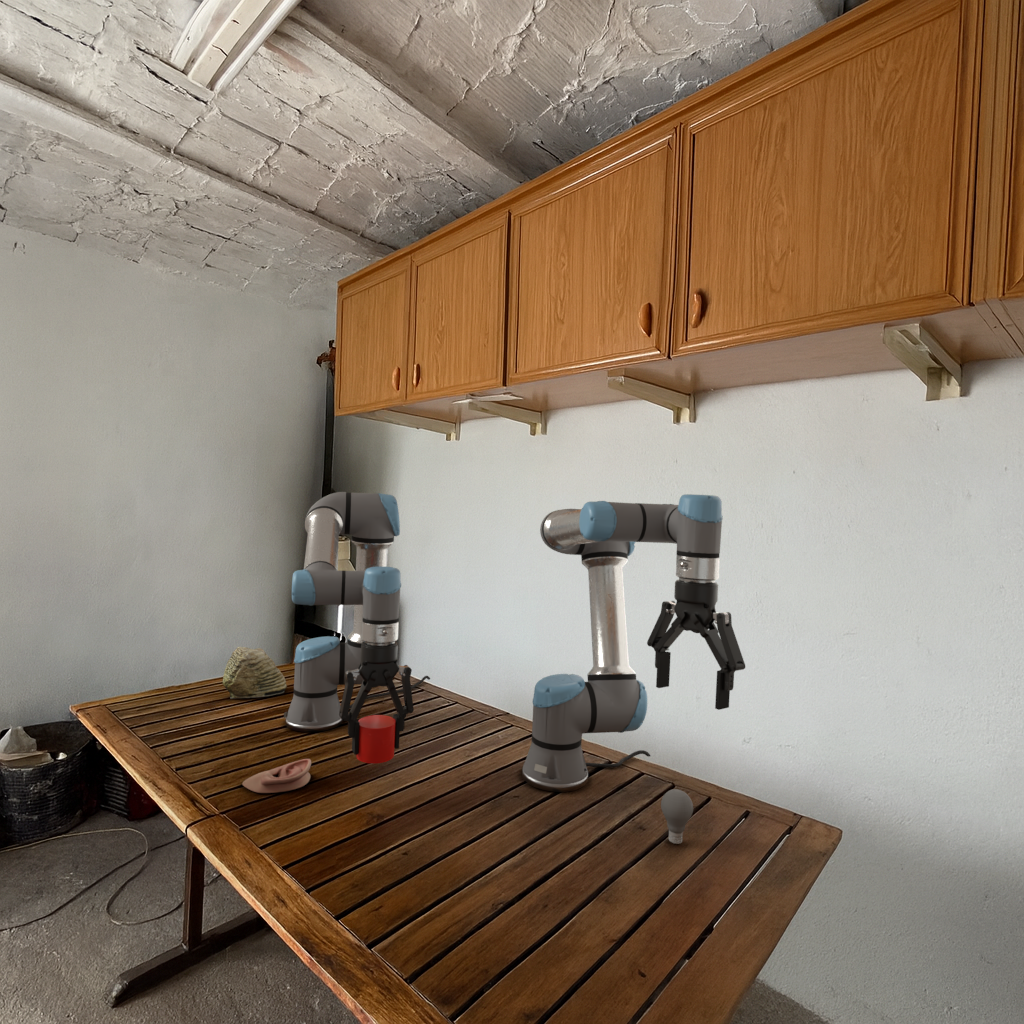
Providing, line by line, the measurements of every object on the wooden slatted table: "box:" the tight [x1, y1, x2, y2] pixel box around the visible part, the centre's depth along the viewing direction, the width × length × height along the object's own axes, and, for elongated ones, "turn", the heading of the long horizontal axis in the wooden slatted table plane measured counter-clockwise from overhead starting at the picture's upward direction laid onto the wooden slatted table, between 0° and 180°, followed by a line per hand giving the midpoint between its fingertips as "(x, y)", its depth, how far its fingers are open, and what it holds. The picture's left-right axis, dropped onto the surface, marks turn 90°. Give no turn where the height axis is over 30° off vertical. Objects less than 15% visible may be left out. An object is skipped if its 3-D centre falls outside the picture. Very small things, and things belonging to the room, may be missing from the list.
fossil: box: [222, 646, 288, 699], centre depth 198 cm, size 9×18×15 cm, turn 132°
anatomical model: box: [241, 758, 312, 794], centre depth 139 cm, size 13×4×12 cm
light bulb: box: [660, 788, 694, 845], centre depth 121 cm, size 6×6×10 cm
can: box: [355, 714, 396, 765], centre depth 133 cm, size 8×8×7 cm
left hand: (375, 748), depth 133 cm, fingers closed on can, 8 cm apart
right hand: (690, 697), depth 115 cm, fingers open, 13 cm apart
